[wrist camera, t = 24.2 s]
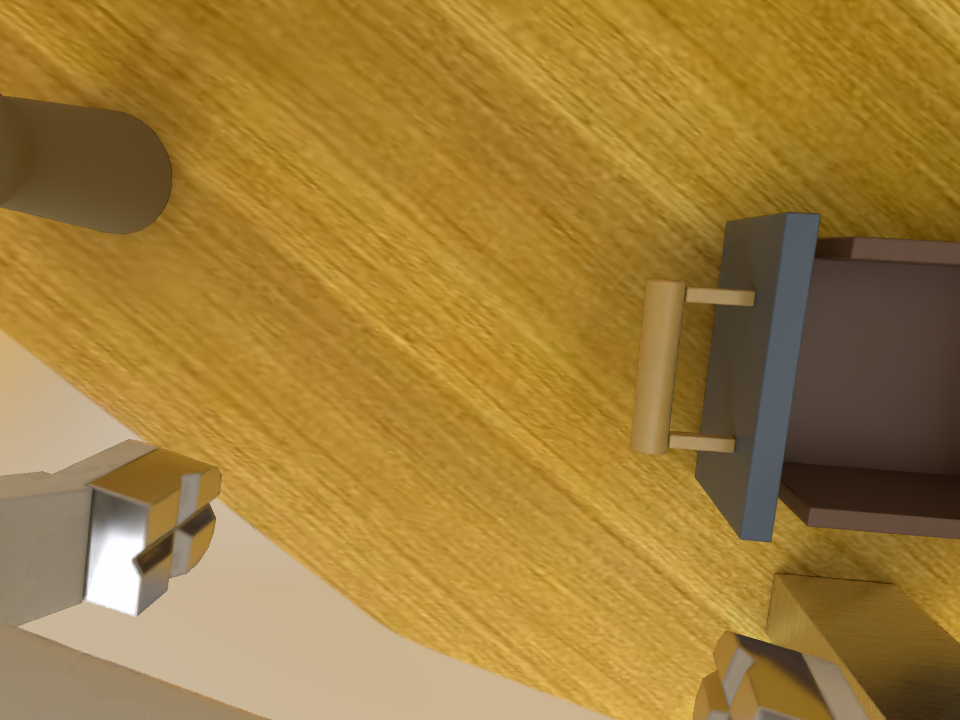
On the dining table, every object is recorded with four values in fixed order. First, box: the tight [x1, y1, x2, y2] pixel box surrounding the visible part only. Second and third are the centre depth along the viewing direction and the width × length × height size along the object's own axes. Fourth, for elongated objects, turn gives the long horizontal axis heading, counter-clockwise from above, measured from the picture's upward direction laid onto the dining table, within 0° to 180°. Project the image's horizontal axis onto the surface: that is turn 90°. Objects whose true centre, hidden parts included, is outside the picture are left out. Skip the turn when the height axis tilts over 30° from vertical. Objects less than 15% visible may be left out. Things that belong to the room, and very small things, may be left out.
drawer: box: [630, 212, 960, 542], centre depth 26 cm, size 19×12×7 cm, turn 87°
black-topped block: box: [766, 574, 960, 720], centre depth 26 cm, size 4×6×12 cm, turn 87°
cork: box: [0, 94, 171, 234], centre depth 26 cm, size 6×6×11 cm
